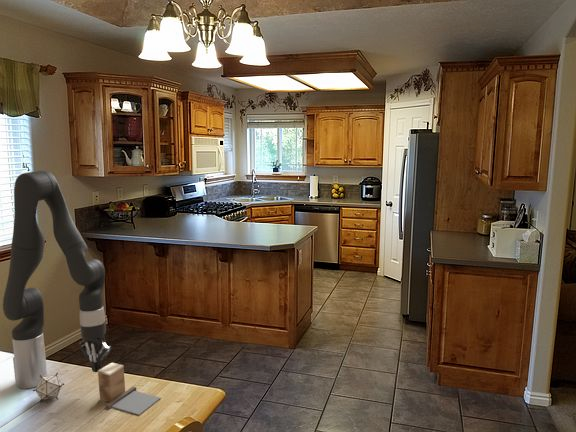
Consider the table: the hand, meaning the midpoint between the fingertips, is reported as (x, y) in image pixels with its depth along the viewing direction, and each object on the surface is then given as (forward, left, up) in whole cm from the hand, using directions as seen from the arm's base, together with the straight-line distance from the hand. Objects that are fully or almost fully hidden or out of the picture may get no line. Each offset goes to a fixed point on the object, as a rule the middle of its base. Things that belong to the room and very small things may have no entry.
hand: (96, 370), depth 148 cm
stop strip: (+10, 0, -8) cm, 13 cm away
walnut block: (+6, 0, -8) cm, 10 cm away
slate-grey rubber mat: (+16, 0, -8) cm, 18 cm away
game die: (-12, -9, -8) cm, 17 cm away
